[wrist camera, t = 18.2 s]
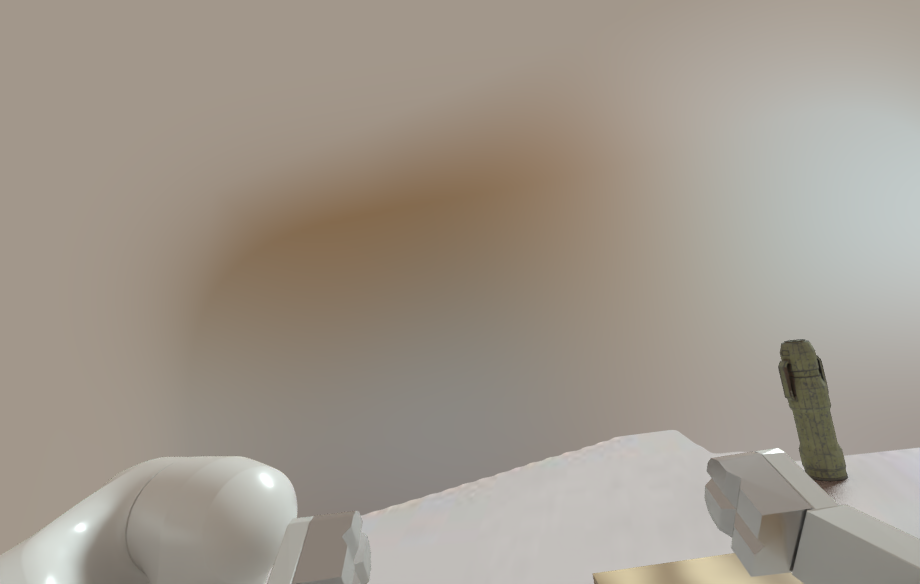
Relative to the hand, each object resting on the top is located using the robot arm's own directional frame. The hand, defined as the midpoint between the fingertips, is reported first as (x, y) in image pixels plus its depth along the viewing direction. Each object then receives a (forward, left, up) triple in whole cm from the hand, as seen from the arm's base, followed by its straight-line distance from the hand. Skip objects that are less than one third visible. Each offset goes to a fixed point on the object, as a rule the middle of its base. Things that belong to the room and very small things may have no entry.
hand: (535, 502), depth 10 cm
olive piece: (+86, +111, -43) cm, 147 cm away
